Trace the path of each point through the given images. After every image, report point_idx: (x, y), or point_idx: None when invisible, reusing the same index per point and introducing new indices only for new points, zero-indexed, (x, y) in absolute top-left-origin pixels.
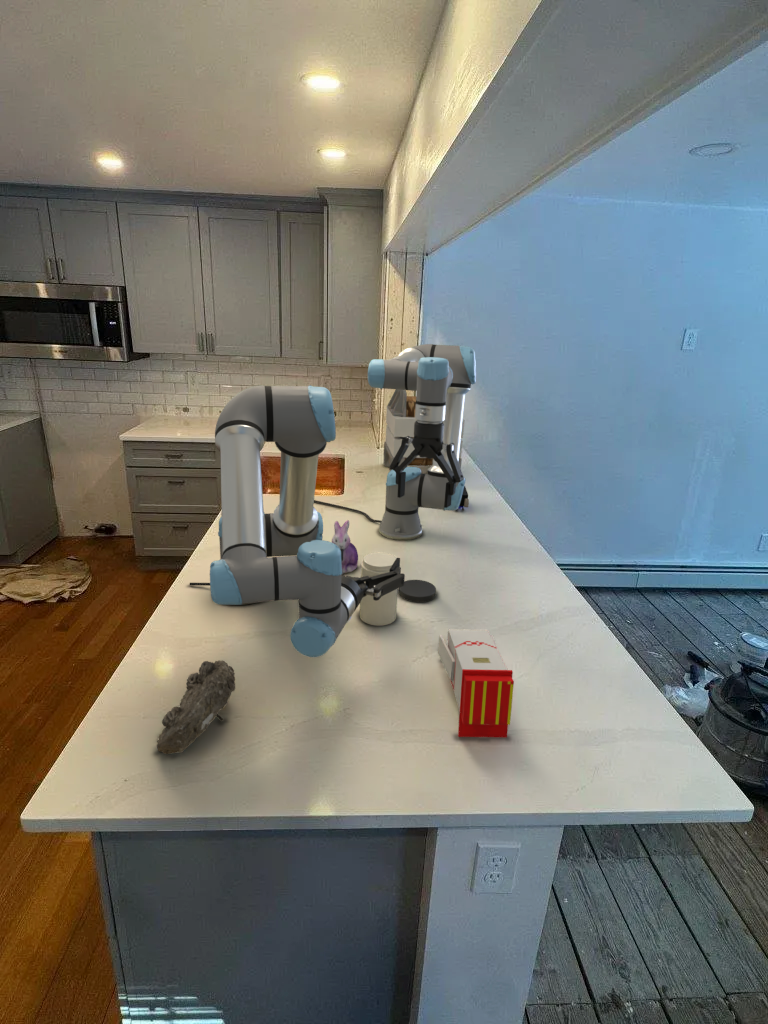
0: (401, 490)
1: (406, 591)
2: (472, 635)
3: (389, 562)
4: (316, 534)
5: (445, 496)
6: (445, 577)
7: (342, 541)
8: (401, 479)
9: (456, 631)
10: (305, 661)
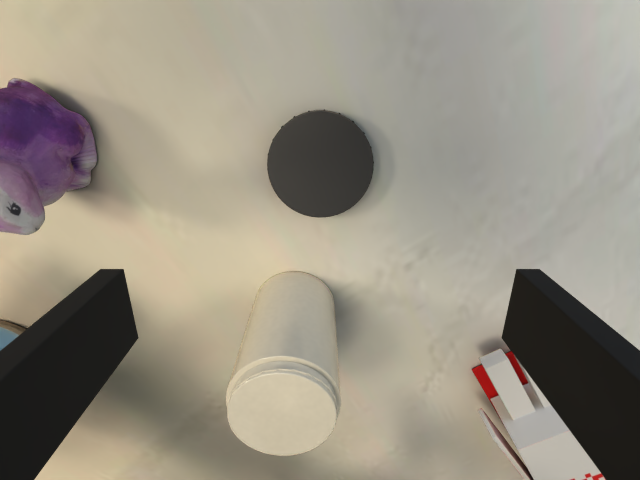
0: (106, 358)
1: (304, 202)
2: (573, 455)
3: (318, 421)
4: None
5: (553, 401)
6: (349, 6)
7: (18, 228)
8: (34, 460)
9: (536, 452)
10: (274, 462)
